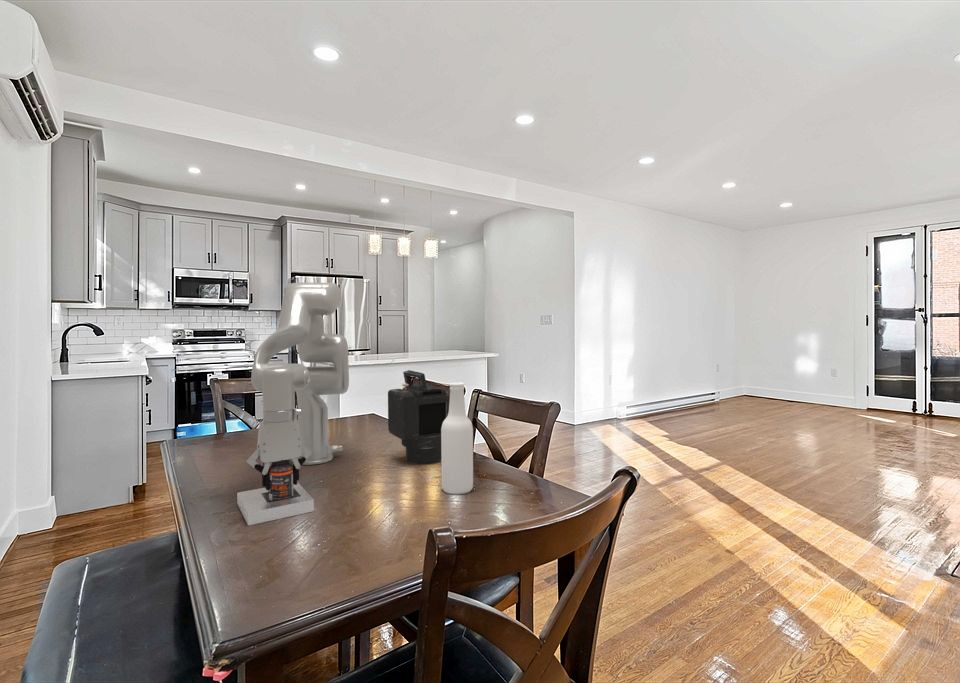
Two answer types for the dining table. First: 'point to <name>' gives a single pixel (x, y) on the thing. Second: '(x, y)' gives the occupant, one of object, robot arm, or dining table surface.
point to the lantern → (418, 418)
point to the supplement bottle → (280, 481)
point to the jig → (273, 505)
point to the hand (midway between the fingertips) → (280, 485)
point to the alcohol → (457, 445)
